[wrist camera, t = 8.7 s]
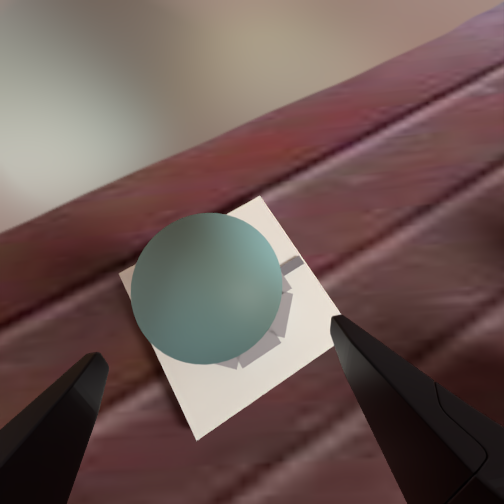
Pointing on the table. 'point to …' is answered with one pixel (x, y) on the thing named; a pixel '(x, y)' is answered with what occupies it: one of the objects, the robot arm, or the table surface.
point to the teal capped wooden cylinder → (206, 288)
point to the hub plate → (267, 348)
